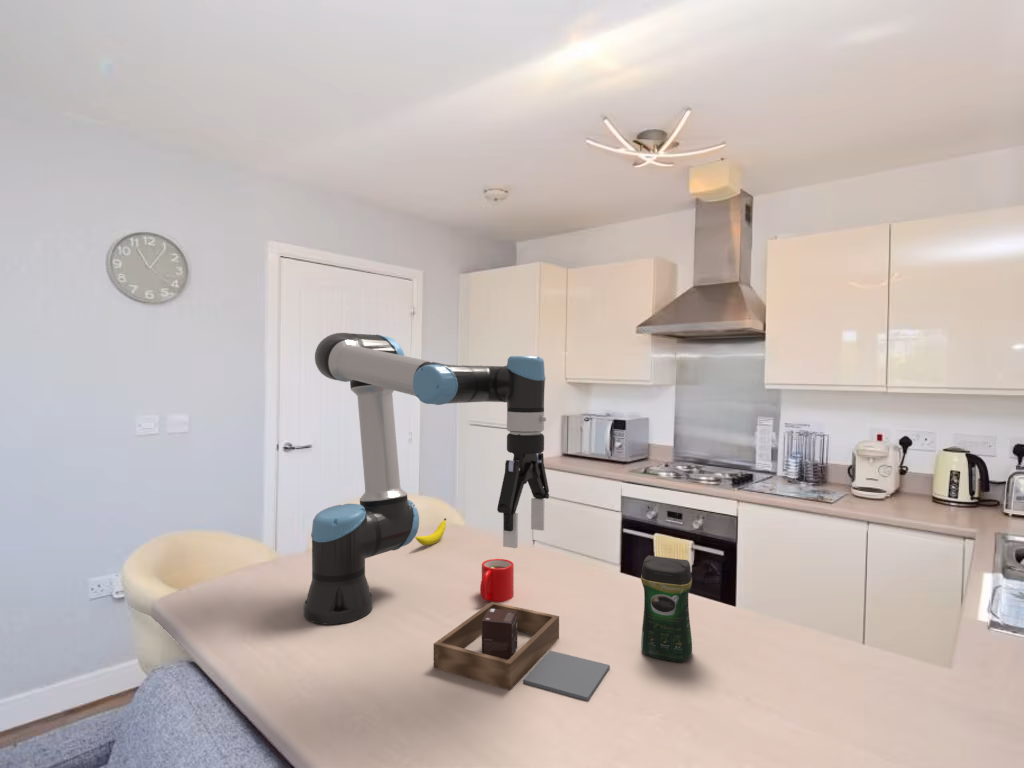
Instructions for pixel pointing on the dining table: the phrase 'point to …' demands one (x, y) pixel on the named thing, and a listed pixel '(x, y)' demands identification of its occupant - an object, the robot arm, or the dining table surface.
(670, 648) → the coffee jar
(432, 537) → the banana
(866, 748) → the dining table surface
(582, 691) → the slate mat
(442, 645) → the walnut crate
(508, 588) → the mug
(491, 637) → the box
